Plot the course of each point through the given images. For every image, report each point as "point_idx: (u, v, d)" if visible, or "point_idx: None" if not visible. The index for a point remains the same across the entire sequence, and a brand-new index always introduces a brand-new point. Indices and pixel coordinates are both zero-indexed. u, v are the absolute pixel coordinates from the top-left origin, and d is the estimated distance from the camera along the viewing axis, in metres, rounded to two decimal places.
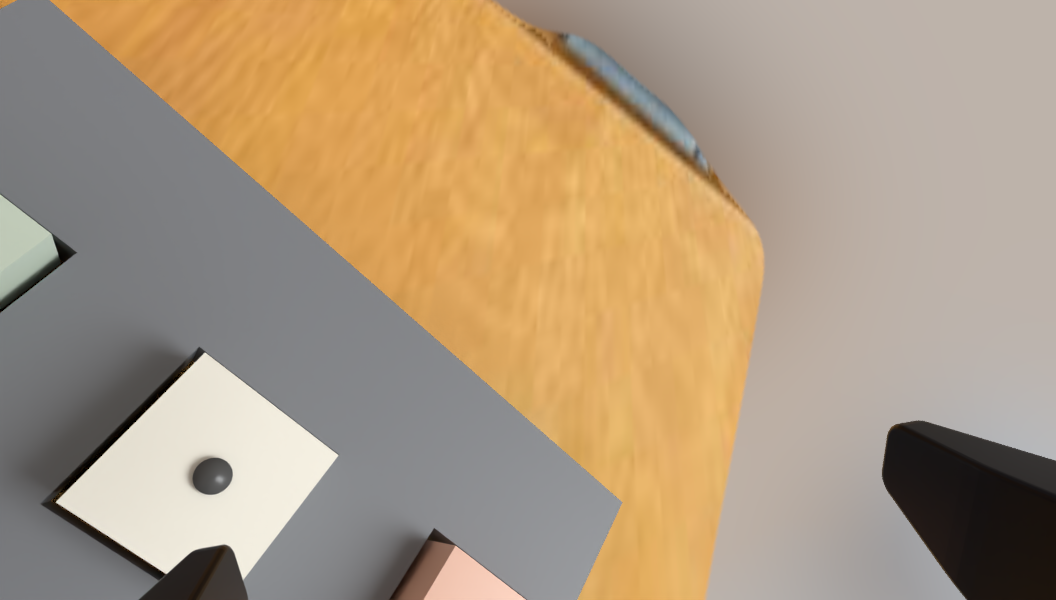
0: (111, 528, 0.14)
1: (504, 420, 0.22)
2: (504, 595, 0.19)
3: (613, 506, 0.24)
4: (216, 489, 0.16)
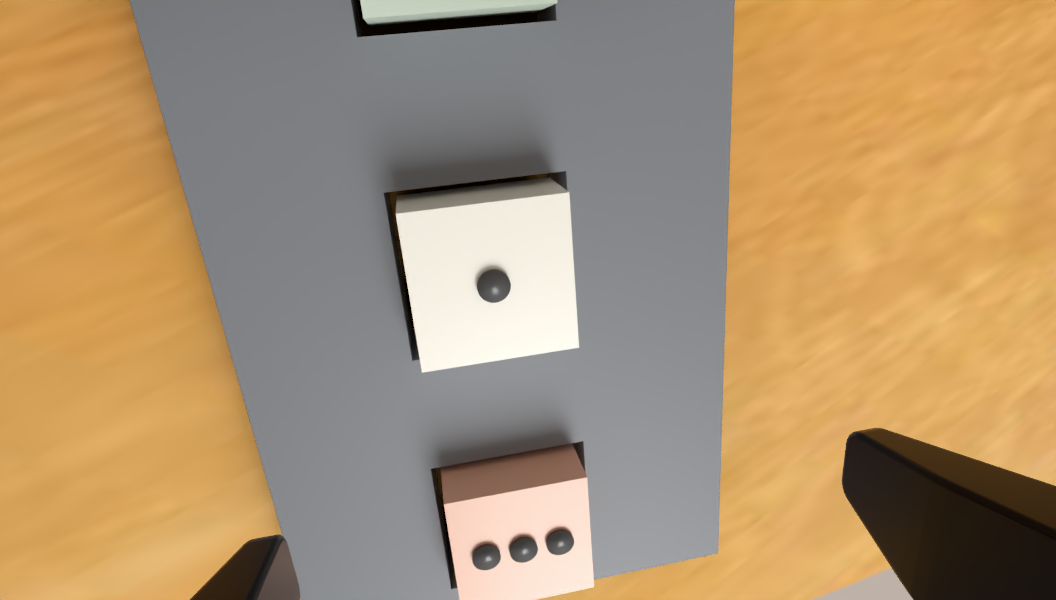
0: (409, 261, 0.16)
1: (705, 421, 0.21)
2: (582, 536, 0.20)
3: (709, 549, 0.24)
4: (488, 297, 0.17)
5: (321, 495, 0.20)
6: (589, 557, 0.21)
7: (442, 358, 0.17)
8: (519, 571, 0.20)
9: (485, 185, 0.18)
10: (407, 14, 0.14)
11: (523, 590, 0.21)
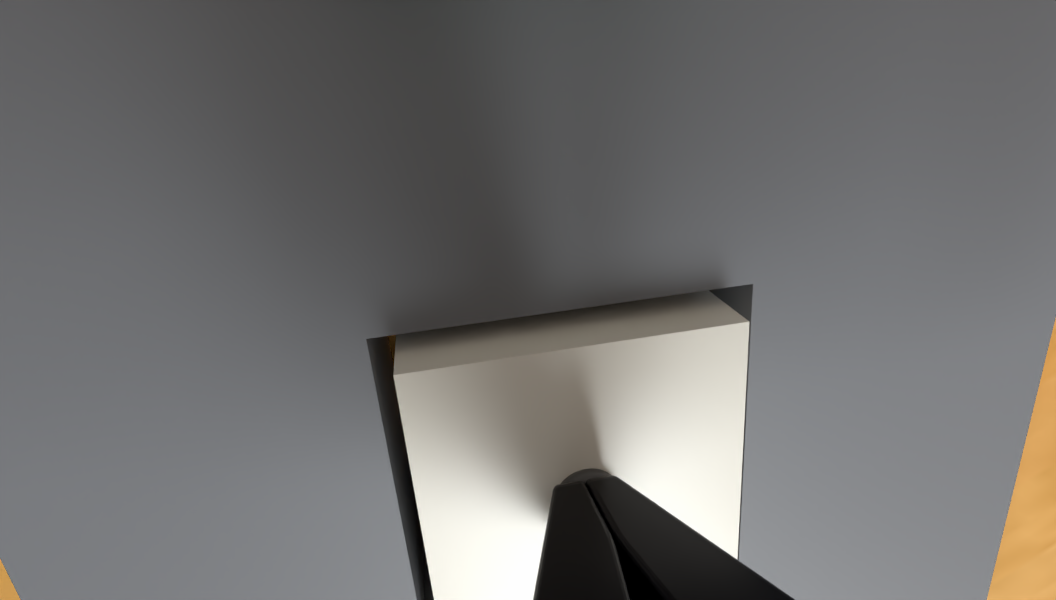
0: (422, 463, 0.08)
1: None
2: None
3: None
4: None
5: None
6: None
7: None
8: None
9: None
10: None
11: None
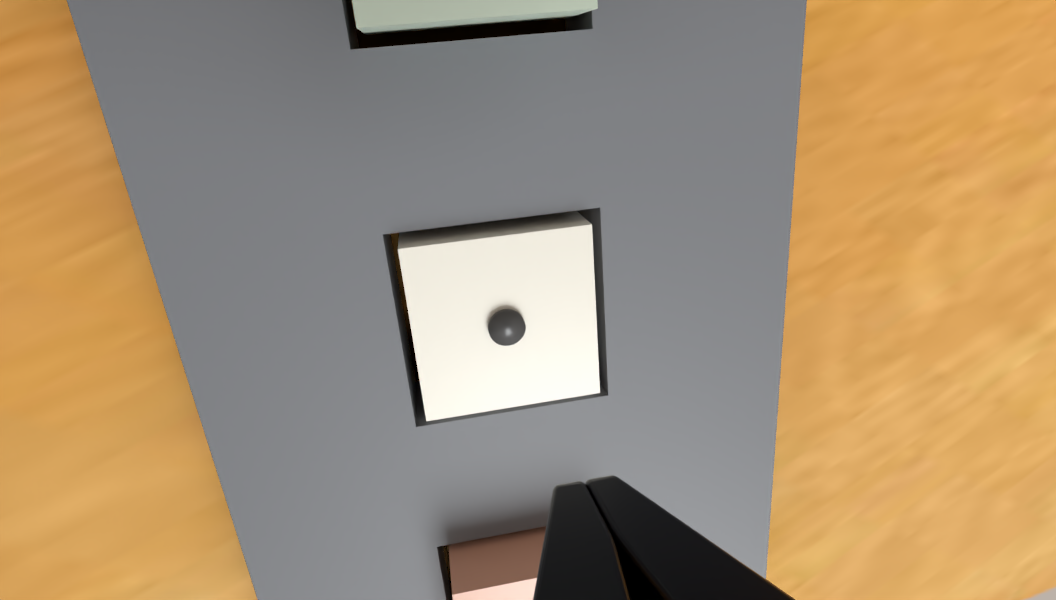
0: (413, 301, 0.14)
1: (753, 488, 0.19)
2: None
3: None
4: (500, 340, 0.15)
5: (310, 578, 0.17)
6: None
7: (449, 405, 0.16)
8: None
9: None
10: (411, 23, 0.11)
11: None
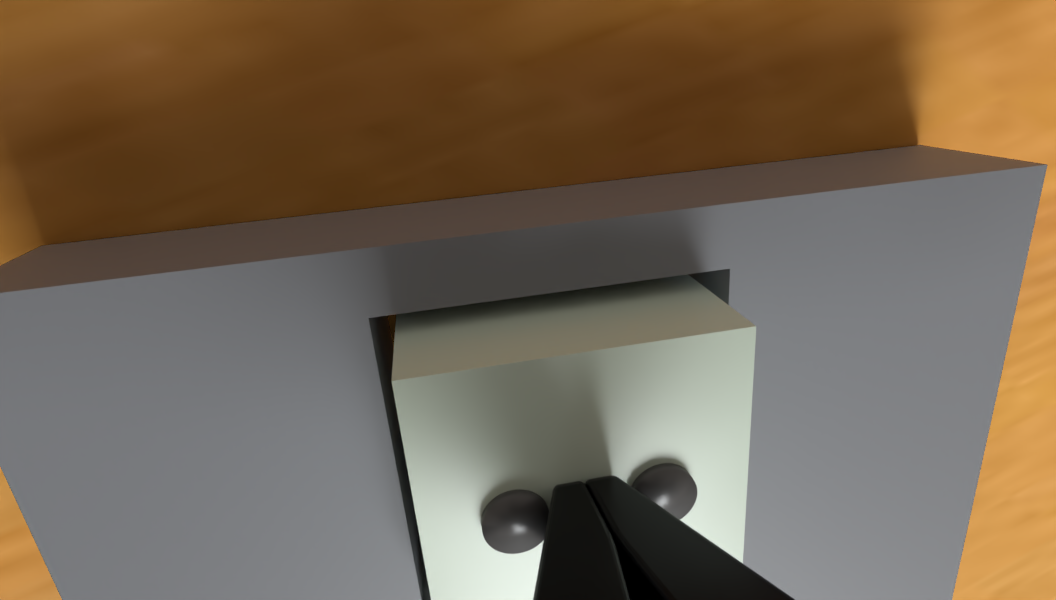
0: None
1: None
2: None
3: None
4: None
5: None
6: None
7: None
8: None
9: None
10: None
11: None
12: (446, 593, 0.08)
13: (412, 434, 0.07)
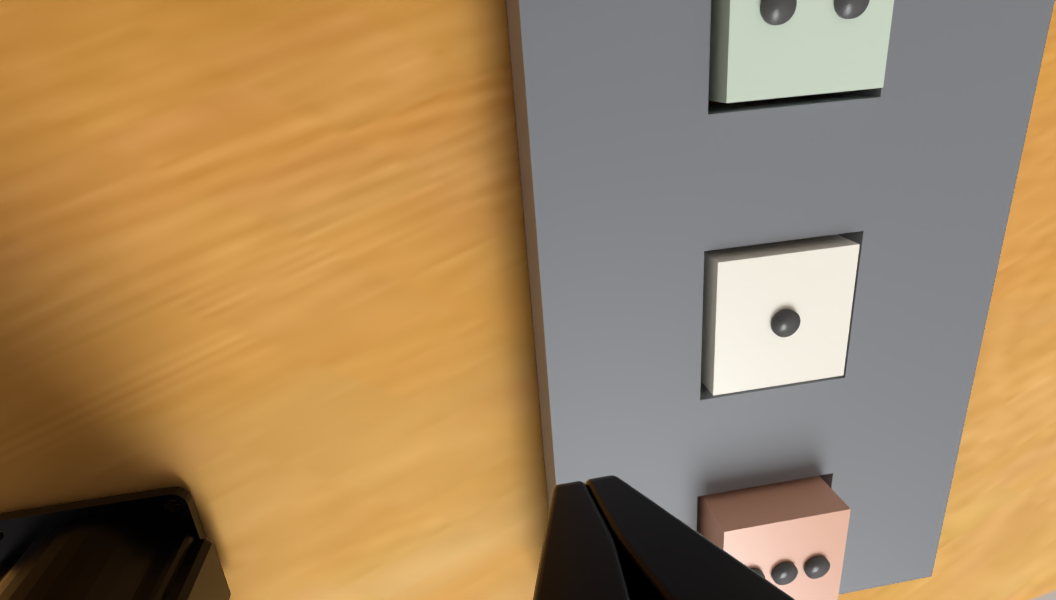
0: (721, 302, 0.19)
1: (942, 455, 0.23)
2: (835, 561, 0.22)
3: (924, 572, 0.25)
4: (780, 333, 0.19)
5: None
6: (838, 581, 0.22)
7: (731, 383, 0.20)
8: None
9: None
10: (760, 98, 0.17)
11: None
12: (736, 53, 0.16)
13: None
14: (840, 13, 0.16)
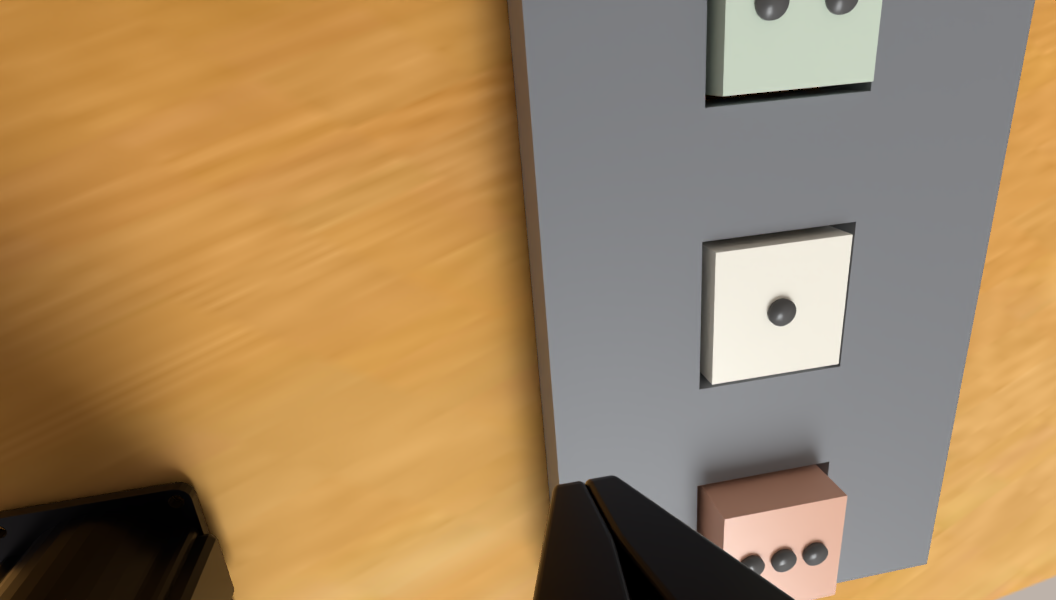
0: (719, 292, 0.19)
1: (935, 443, 0.23)
2: (833, 548, 0.22)
3: (919, 560, 0.25)
4: (777, 322, 0.20)
5: None
6: (836, 567, 0.23)
7: (730, 372, 0.20)
8: (775, 580, 0.22)
9: None
10: (755, 92, 0.17)
11: None
12: (731, 48, 0.17)
13: None
14: (831, 9, 0.17)
